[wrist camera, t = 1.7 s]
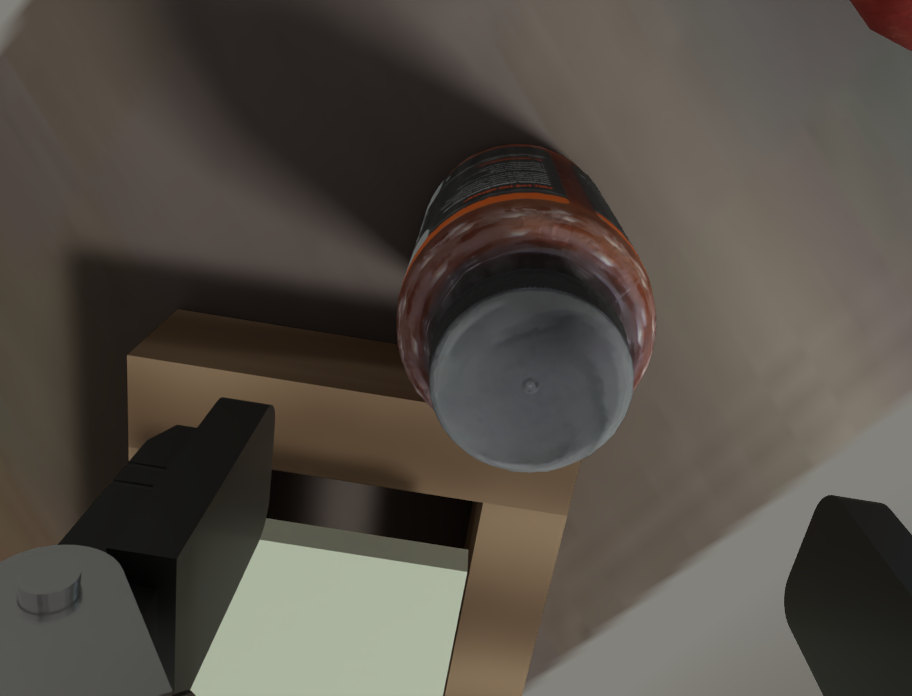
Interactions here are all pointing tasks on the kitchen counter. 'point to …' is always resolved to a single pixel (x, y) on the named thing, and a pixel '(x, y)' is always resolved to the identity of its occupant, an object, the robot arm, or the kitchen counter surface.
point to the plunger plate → (337, 617)
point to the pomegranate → (888, 19)
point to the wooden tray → (370, 461)
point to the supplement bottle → (524, 311)
